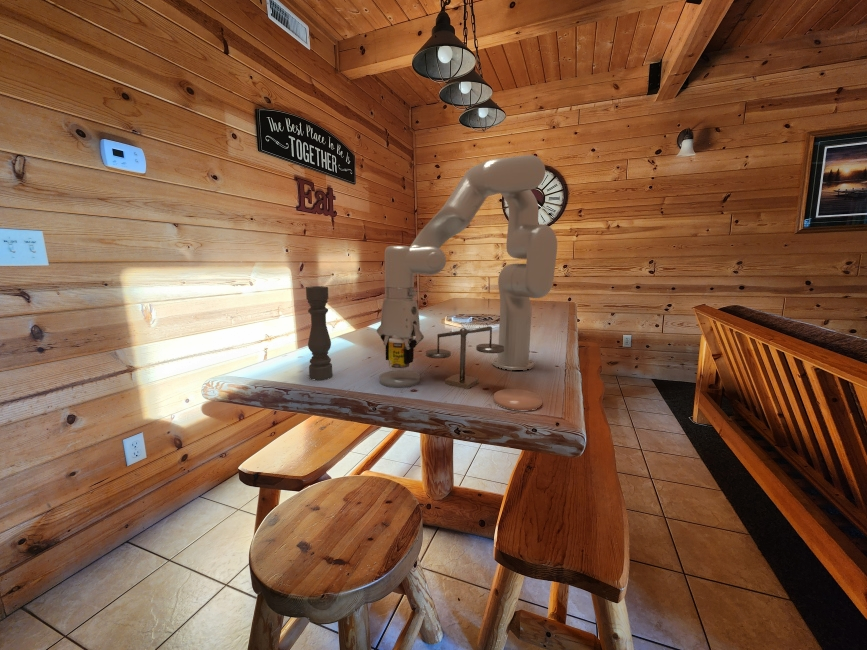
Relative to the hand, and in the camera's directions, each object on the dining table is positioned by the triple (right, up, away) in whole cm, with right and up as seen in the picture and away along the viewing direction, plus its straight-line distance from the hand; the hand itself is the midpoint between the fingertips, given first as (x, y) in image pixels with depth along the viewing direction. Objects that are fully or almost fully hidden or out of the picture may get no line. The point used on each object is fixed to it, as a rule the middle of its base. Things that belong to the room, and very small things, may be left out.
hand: (399, 360), depth 99 cm
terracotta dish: (+29, -9, -13) cm, 33 cm away
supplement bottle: (0, -2, 0) cm, 2 cm away
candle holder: (-22, -5, +4) cm, 23 cm away
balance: (+17, -6, 0) cm, 18 cm away
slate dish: (0, -6, +1) cm, 6 cm away
